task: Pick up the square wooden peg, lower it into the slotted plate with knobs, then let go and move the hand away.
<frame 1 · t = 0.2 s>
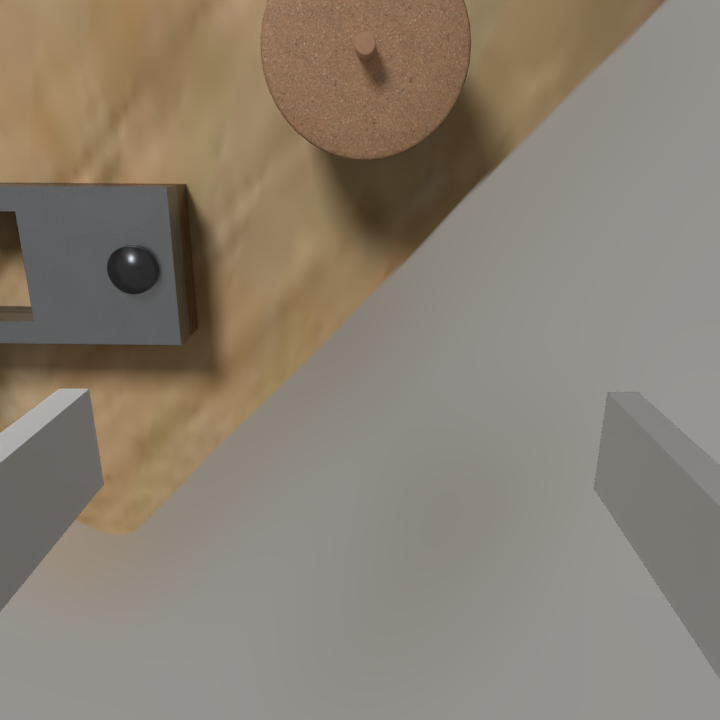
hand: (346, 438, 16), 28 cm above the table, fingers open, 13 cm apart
lidded jar: (366, 69, 38), on the table
slotted plate with knobs: (6, 257, 42), on the table
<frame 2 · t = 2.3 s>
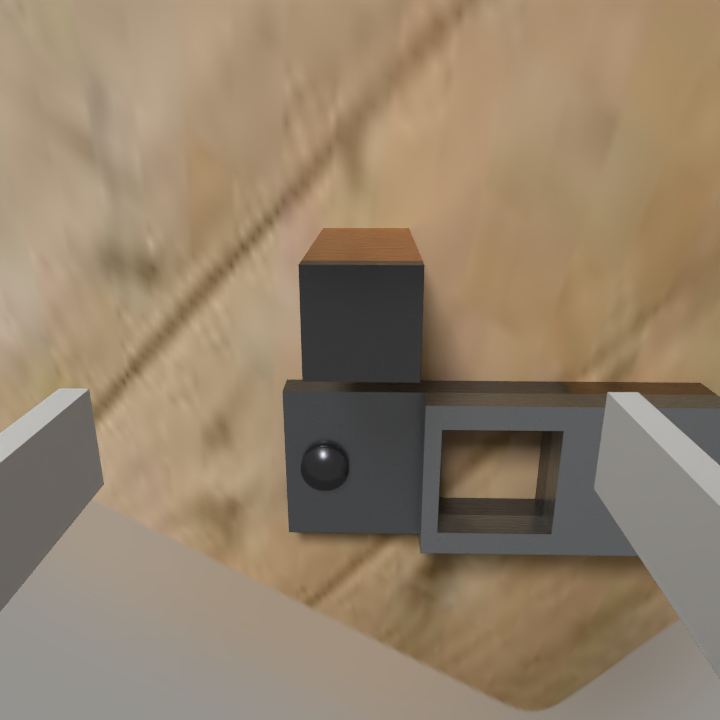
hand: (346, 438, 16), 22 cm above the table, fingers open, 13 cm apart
square wooden peg: (365, 270, 36), on the table
slotted plate with knobs: (486, 452, 40), on the table
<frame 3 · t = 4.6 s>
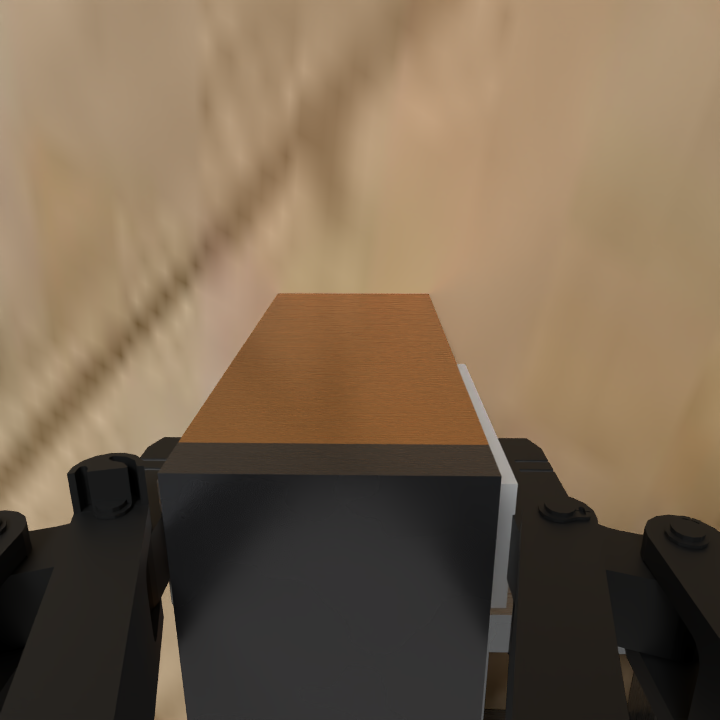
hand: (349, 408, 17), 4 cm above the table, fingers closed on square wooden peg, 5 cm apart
square wooden peg: (353, 364, 21), on the table, touching gripper
slotted plate with knobs: (551, 645, 25), on the table
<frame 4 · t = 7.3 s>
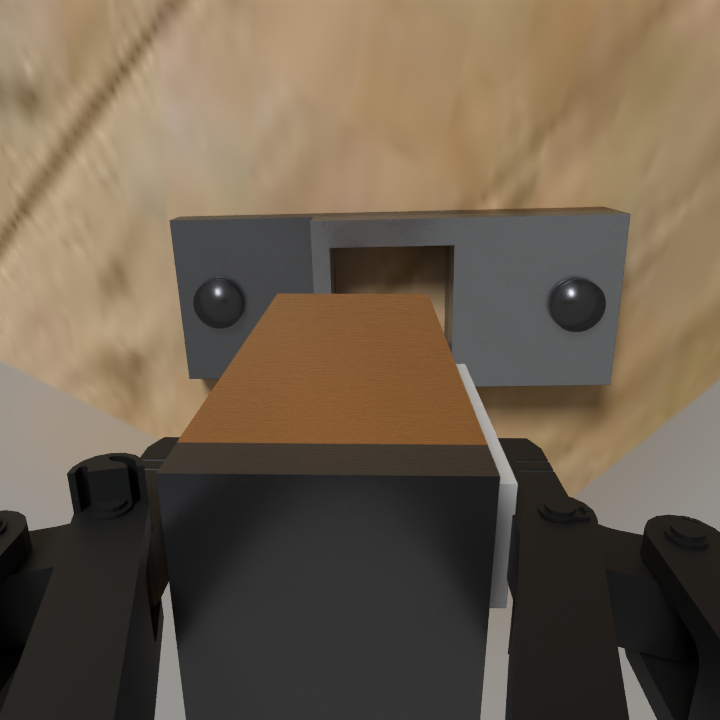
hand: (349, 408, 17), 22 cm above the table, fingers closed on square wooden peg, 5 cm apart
square wooden peg: (352, 364, 21), point 18 cm above the table, touching gripper
slotted plate with knobs: (390, 291, 39), on the table
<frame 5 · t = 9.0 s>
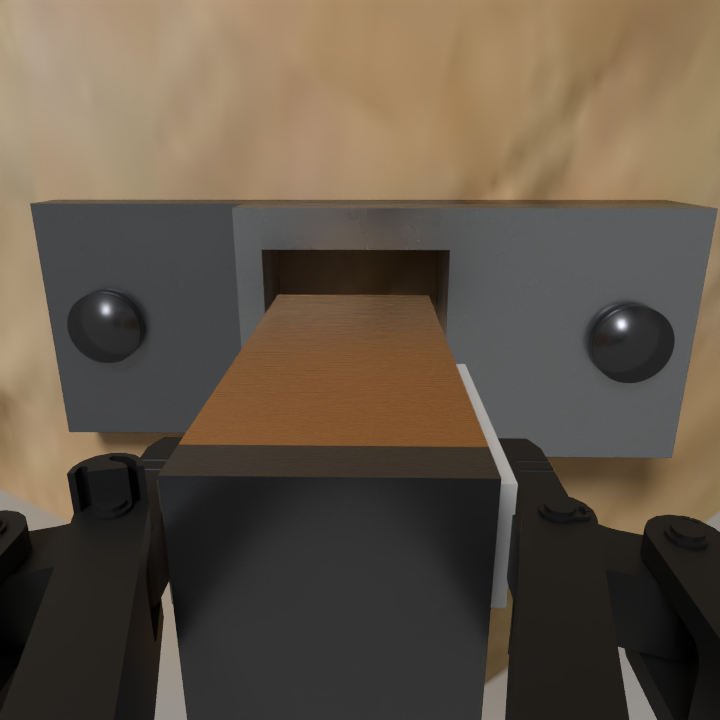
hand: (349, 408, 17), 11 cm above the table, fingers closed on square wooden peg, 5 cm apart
square wooden peg: (353, 365, 21), point 7 cm above the table, touching gripper
slotted plate with knobs: (358, 314, 27), on the table
when the fingers open (6 cm above the table, at t = 10.3 s): square wooden peg drops 2 cm, resting in slotted plate with knobs.
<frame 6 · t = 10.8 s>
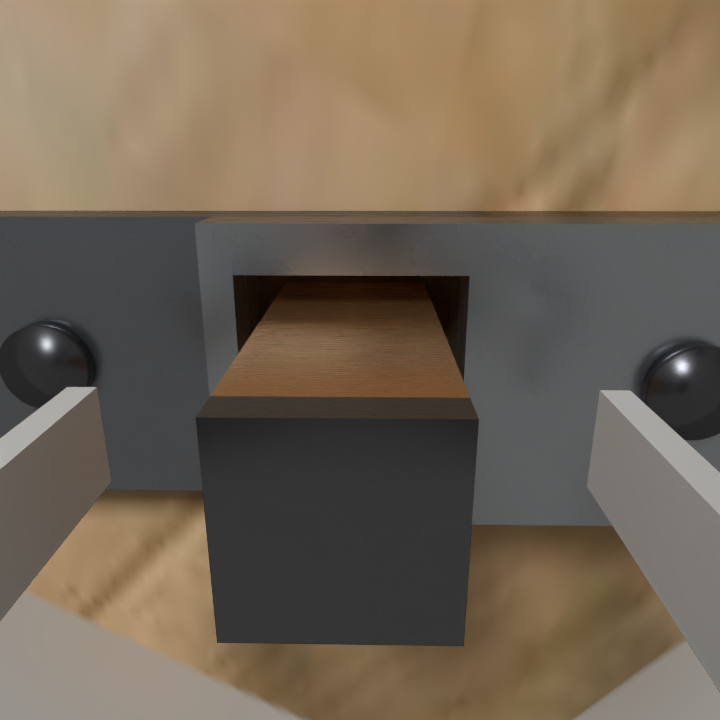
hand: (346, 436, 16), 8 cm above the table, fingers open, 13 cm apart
square wooden peg: (355, 347, 23), resting in slotted plate with knobs
slotted plate with knobs: (354, 347, 23), on the table
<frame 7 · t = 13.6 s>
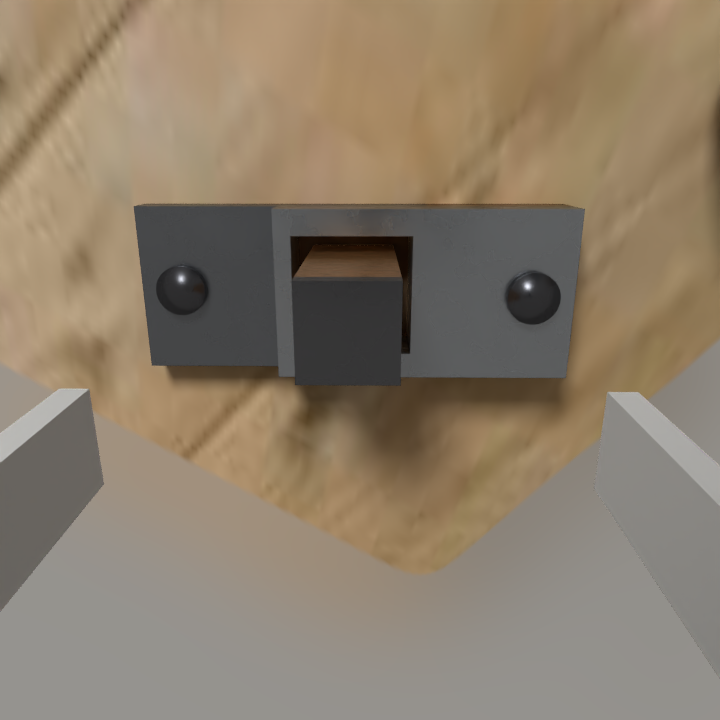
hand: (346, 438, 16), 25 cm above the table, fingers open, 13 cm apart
square wooden peg: (353, 283, 39), resting in slotted plate with knobs
slotted plate with knobs: (353, 283, 39), on the table
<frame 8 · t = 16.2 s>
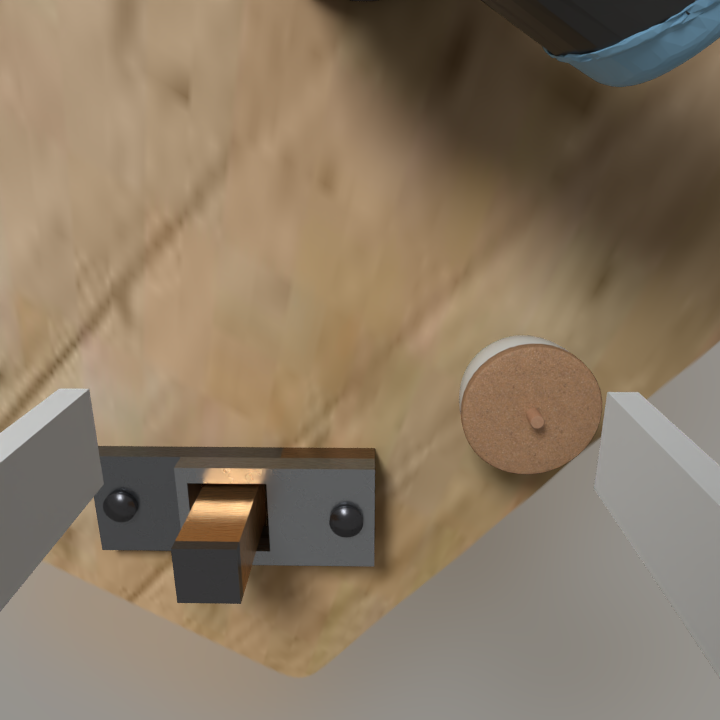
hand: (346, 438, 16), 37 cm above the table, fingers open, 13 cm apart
lidded jar: (510, 377, 54), on the table
square wooden peg: (238, 494, 58), resting in slotted plate with knobs
slotted plate with knobs: (238, 494, 58), on the table
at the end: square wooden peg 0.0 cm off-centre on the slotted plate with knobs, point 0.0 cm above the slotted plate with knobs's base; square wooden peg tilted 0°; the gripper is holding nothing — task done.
